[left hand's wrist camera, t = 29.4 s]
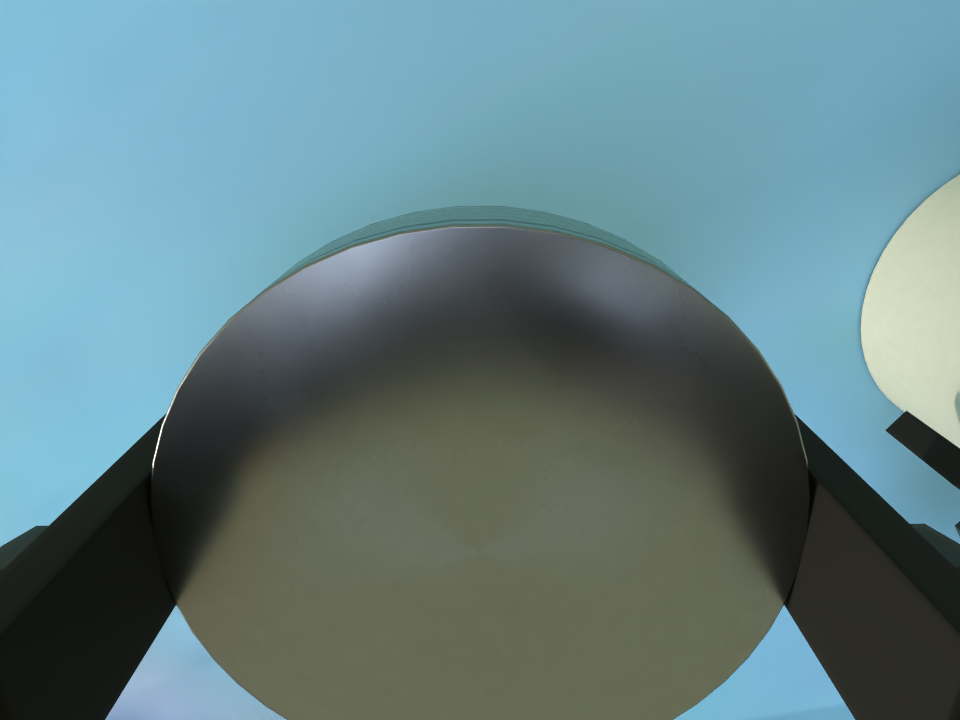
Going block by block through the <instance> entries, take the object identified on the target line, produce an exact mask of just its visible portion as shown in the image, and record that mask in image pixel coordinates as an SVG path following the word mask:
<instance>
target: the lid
mask: <svg viewBox="0 0 960 720" xmlns="http://www.w3.org/2000/svg"><path fill="white" fill-rule="evenodd" d="M150 506H151V517H152V529H153V534H154V538H155V542H156V547H157V551H158V555H159V559H160V563H161V567H162V571H163V575H164V577H165V580H166V582H167V584H168V587H169V589H170V592H171V594H172V597H173V599H174V601H175V603H176V605H177V607H178V609H179V610H180V612H181V614H182V615H183V617H184V619H185V620H186V622H187V624H188V626H189V627H190V629H191V631H192V632H193V634H194V635H195V636H196V638H197V639H198V640H199V641H200V643H201V644H202V645H203V647H204V648H205V649H206V650H207V652H208V653H209V654H210V656H211V657H212V658H213V659H214V660H215V661H216V662H217V663H218V664H219V665H220V666H221V667H222V668H223V669H224V670H225V671H226V673H227V674H228V675H229V676H230V677H231V678H232V679H233V680H234V681H235V682H236V683H237V684H239V685H240V686H241V687H242V688H244V689H245V690H246V691H247V692H249V693H250V694H251V695H252V696H254V697H255V698H256V699H257V700H259V701H260V702H261V703H262V704H264V705H265V706H266V707H268V708H270V709H271V710H273V711H274V712H276V713H277V714H279V715H281V716H282V717H284V718H285V719H287V720H673V719H675V718H676V717H678V716H680V715H681V714H683V713H684V712H686V711H687V710H689V709H691V708H692V707H694V706H695V705H697V704H698V703H699V702H700V701H702V700H703V699H704V698H705V697H707V696H708V695H709V694H710V693H712V692H713V691H714V690H715V689H717V688H718V687H719V686H720V685H721V684H723V683H724V682H725V681H726V680H727V679H728V678H729V677H730V676H731V675H732V674H733V673H734V672H735V671H736V670H737V669H738V668H739V667H740V666H741V665H742V664H743V663H744V662H745V661H746V659H747V658H748V657H749V656H750V655H751V653H752V652H753V651H754V649H755V648H756V647H757V646H758V644H759V643H760V642H761V640H762V639H763V638H764V636H765V635H766V634H767V632H768V631H769V630H770V628H771V626H772V625H773V623H774V621H775V619H776V618H777V616H778V614H779V612H780V611H781V609H782V607H783V605H784V604H785V602H786V600H787V598H788V595H789V593H790V590H791V588H792V585H793V583H794V580H795V578H796V575H797V572H798V569H799V565H800V561H801V556H802V552H803V548H804V544H805V540H806V535H807V531H808V521H809V508H810V487H809V476H808V464H807V457H806V453H805V449H804V445H803V441H802V437H801V433H800V429H799V426H798V422H797V419H796V417H795V415H794V413H793V410H792V408H791V406H790V403H789V401H788V399H787V397H786V394H785V392H784V390H783V387H782V385H781V384H780V382H779V381H778V379H777V377H776V376H775V374H774V373H773V371H772V370H771V368H770V367H769V365H768V364H767V362H766V360H765V359H764V357H763V356H762V354H761V353H760V351H759V350H758V349H757V348H756V346H755V345H754V344H753V343H752V342H751V341H750V340H749V339H748V338H747V336H746V335H745V334H744V333H743V332H742V331H741V330H740V329H739V328H738V326H737V325H736V324H735V323H734V322H733V321H732V320H731V319H730V318H729V317H728V316H727V315H726V314H725V313H723V312H722V311H721V310H720V309H719V308H717V307H716V306H715V305H714V304H712V303H711V302H710V301H709V300H708V299H706V298H705V297H704V296H703V295H701V294H700V293H699V292H698V291H697V290H695V289H694V288H693V287H692V286H690V285H689V284H688V283H687V282H686V281H684V280H683V279H682V278H681V277H679V276H678V275H677V274H676V273H675V272H673V271H672V270H671V269H670V268H668V267H667V266H666V265H665V264H664V263H662V262H661V261H660V260H658V259H656V258H655V257H653V256H651V255H650V254H648V253H646V252H645V251H643V250H641V249H640V248H638V247H636V246H635V245H633V244H631V243H630V242H628V241H626V240H625V239H622V238H620V237H618V236H615V235H613V234H611V233H608V232H606V231H604V230H601V229H599V228H596V227H594V226H592V225H589V224H587V223H584V222H580V221H576V220H573V219H569V218H565V217H562V216H558V215H554V214H551V213H547V212H542V211H534V210H527V209H519V208H511V207H504V206H455V207H448V208H441V209H434V210H427V211H419V212H413V213H409V214H406V215H402V216H398V217H395V218H391V219H388V220H384V221H381V222H377V223H374V224H370V225H368V226H366V227H364V228H361V229H359V230H357V231H354V232H352V233H350V234H348V235H345V236H343V237H341V238H338V239H336V240H334V241H332V242H330V243H329V244H327V245H325V246H324V247H322V248H320V249H319V250H317V251H316V252H314V253H312V254H311V255H309V256H307V257H306V258H304V259H303V260H301V261H299V262H298V263H296V264H295V265H294V266H293V267H292V268H290V269H289V270H288V271H287V272H285V273H284V274H283V275H282V276H281V277H279V278H278V279H277V280H276V281H274V282H273V283H272V284H271V285H270V286H268V287H267V288H266V289H265V290H263V291H262V292H261V293H260V294H259V295H257V296H256V297H255V298H254V299H253V300H252V301H250V302H249V303H248V304H247V305H246V306H244V307H243V308H242V309H241V310H240V311H238V312H237V313H236V314H235V315H234V316H232V317H231V318H230V319H229V320H228V321H227V322H226V323H225V324H224V326H223V327H222V328H221V329H220V330H219V331H218V332H217V333H216V335H215V336H214V337H213V338H212V339H211V340H210V341H209V343H208V344H207V345H206V346H205V347H204V348H203V349H202V351H201V352H200V353H199V355H198V356H197V358H196V359H195V361H194V362H193V364H192V366H191V367H190V369H189V370H188V372H187V373H186V375H185V377H184V378H183V380H182V381H181V383H180V385H179V386H178V388H177V390H176V392H175V395H174V397H173V399H172V402H171V404H170V406H169V409H168V411H167V414H166V416H165V418H164V421H163V423H162V426H161V430H160V434H159V438H158V442H157V447H156V451H155V455H154V459H153V466H152V479H151V492H150Z"/></svg>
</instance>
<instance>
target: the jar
mask: <svg viewBox="0 0 960 720" xmlns="http://www.w3.org/2000/svg"><path fill="white" fill-rule="evenodd" d="M861 343H862V348H863V352H864V357H865V361H866V363H867V366H868V368H869V371H870V374H871V376H872V377H873V379H874V381H875V382H876V384H877V386H878V387H879V389H880V390H881V391H882V392H883V393H884V394H885V396H886V397H887V398H888V399H889V400H890V401H891V402H892V403H894V404H895V405H896V406H897V407H898V408H900V409H901V410H902V411H904V412H906V411H908V412H909V413H911V414H912V415H914V416H915V417H916V418H918V419H919V420H921V421H922V422H924V423H925V424H926V425H928V426H929V427H931V428H932V429H933V430H935V431H936V432H938V433H939V434H940V435H942V436H943V437H945V438H946V439H947V440H949V441H950V442H952V443H953V444H954V445H956V446H957V447H959V448H960V174H959V175H958V176H956V177H955V178H953V179H952V180H950V181H949V182H947V183H946V184H944V185H943V186H942V187H941V188H939V189H938V190H937V191H936V192H934V193H933V194H932V195H931V196H929V197H928V198H927V199H926V200H925V201H924V202H923V203H922V204H921V205H920V206H919V207H918V208H917V209H916V210H915V211H914V212H913V213H912V214H911V215H910V216H909V217H908V218H907V219H906V221H905V222H904V223H903V224H902V226H901V227H900V228H899V229H898V230H897V232H896V233H895V234H894V236H893V237H892V239H891V240H890V242H889V243H888V245H887V247H886V248H885V250H884V251H883V253H882V255H881V257H880V259H879V261H878V263H877V265H876V267H875V269H874V271H873V273H872V276H871V279H870V281H869V284H868V287H867V290H866V294H865V298H864V303H863V307H862V316H861Z"/></svg>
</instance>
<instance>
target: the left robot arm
mask: <svg viewBox="0 0 960 720" xmlns="http://www.w3.org/2000/svg"><path fill="white" fill-rule="evenodd" d="M166 414H167V413H166ZM166 414H165V415H164V416H163V417H162V418H161V419H160V420H159V421H158V422H157V423H156V424H155V425H154V426H153V427H152V428H151V429H150V430H149V431H148V432H147V433H145V434H144V435H143V436H142V437H141V438H140V439H139V440H138V441H137V442H136V443H135V444H134V445H133V446H132V447H131V448H130V449H129V450H128V451H127V452H126V453H125V454H124V455H123V456H121V457H120V458H119V459H118V460H117V461H116V462H115V463H114V464H113V465H112V466H111V467H110V468H109V469H108V470H107V471H106V472H105V473H104V474H103V475H102V476H101V477H100V478H98V479H97V480H96V481H95V482H94V483H93V484H92V485H91V486H90V487H89V488H88V489H87V490H86V491H85V492H84V493H83V494H82V495H81V496H80V497H79V498H78V499H77V500H75V501H74V502H73V503H72V504H71V505H70V506H69V507H68V508H67V509H66V510H65V511H64V512H63V513H62V514H61V515H60V516H59V517H58V518H57V519H56V520H55V521H54V522H52V523H51V524H50V525H49V526H35V527H34V528H32V529H30V530H29V531H27V532H25V533H23V534H22V535H20V536H18V537H17V538H15V539H13V540H11V541H10V542H8V543H6V544H5V545H3V546H1V547H0V720H105V719H106V717H107V715H108V714H109V712H110V711H111V709H112V707H113V706H114V704H115V703H116V701H117V699H118V698H119V696H120V694H121V693H122V691H123V690H124V688H125V686H126V685H127V683H128V682H129V680H130V678H131V677H132V675H133V673H134V672H135V670H136V669H137V667H138V665H139V664H140V662H141V661H142V659H143V657H144V656H145V654H146V652H147V651H148V649H149V648H150V646H151V644H152V643H153V641H154V639H155V638H156V636H157V635H158V633H159V631H160V630H161V628H162V627H163V625H164V623H165V622H166V620H167V618H168V617H169V615H170V614H171V612H172V610H173V609H174V607H175V606H176V603H175V601H174V599H173V597H172V594H171V592H170V589H169V587H168V584H167V582H166V580H165V577H164V575H163V571H162V567H161V563H160V559H159V555H158V551H157V547H156V542H155V538H154V534H153V529H152V517H151V506H150V492H151V479H152V466H153V459H154V455H155V451H156V447H157V442H158V438H159V434H160V430H161V426H162V423H163V421H164V418H165V416H166ZM794 415H795V414H794ZM795 417H796V419H797V422H798V426H799V429H800V433H801V437H802V441H803V445H804V449H805V453H806V457H807V464H808V476H809V487H810V508H809V521H808V531H807V535H806V540H805V544H804V548H803V552H802V556H801V561H800V565H799V569H798V572H797V575H796V578H795V580H794V583H793V585H792V588H791V590H790V593H789V595H788V598H787V600H786V602H785V604H784V605H785V607H786V608H787V610H788V611H789V613H790V615H791V616H792V618H793V619H794V621H795V623H796V624H797V626H798V628H799V629H800V631H801V632H802V634H803V636H804V637H805V639H806V640H807V642H808V644H809V645H810V647H811V649H812V650H813V652H814V653H815V655H816V657H817V658H818V660H819V661H820V663H821V665H822V666H823V668H824V670H825V671H826V673H827V674H828V676H829V678H830V679H831V681H832V682H833V684H834V686H835V687H836V689H837V691H838V692H839V694H840V695H841V697H842V699H843V700H844V702H845V704H846V705H847V707H848V708H849V710H850V712H851V713H852V715H853V716H854V718H855V720H960V544H959V543H957V542H955V541H953V540H952V539H950V538H948V537H946V536H945V535H943V534H941V533H939V532H938V531H936V530H934V529H933V528H931V527H929V526H927V525H926V524H909V523H908V522H907V521H906V520H905V519H904V518H903V517H902V516H901V515H900V514H899V513H898V512H896V511H895V510H894V509H893V508H892V507H891V506H890V505H889V504H888V503H887V502H886V501H885V500H884V499H883V498H882V497H881V496H880V495H879V494H878V493H877V492H876V491H875V490H873V489H872V488H871V487H870V486H869V485H868V484H867V483H866V482H865V481H864V480H863V479H862V478H861V477H860V476H859V475H858V474H857V473H856V472H855V471H854V470H853V469H852V468H850V467H849V466H848V465H847V464H846V463H845V462H844V461H843V460H842V459H841V458H840V457H839V456H838V455H837V454H836V453H835V452H834V451H833V450H832V449H831V448H830V447H829V446H827V445H826V444H825V443H824V442H823V441H822V440H821V439H820V438H819V437H818V436H817V435H816V434H815V433H814V432H813V431H812V430H811V429H810V428H809V427H808V426H807V425H806V424H804V423H803V422H802V421H801V420H800V419H799V418H798V417H797V416H796V415H795Z"/></svg>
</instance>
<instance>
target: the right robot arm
mask: <svg viewBox="0 0 960 720" xmlns="http://www.w3.org/2000/svg"><path fill="white" fill-rule="evenodd" d="M886 431H887V432H888V433H889V434H891V435H892V436H893V437H894V438H896V439H897V440H898V441H899V442H900V443H902V444H903V445H904V446H905V447H907V448H908V449H909V450H910V451H912V452H913V453H914V454H915V455H917V456H918V457H919V458H920V459H922V460H923V461H924V462H925V463H927V464H928V465H929V466H930V467H932V468H933V469H934V470H935V471H937V472H938V473H939V474H940V475H942V476H943V477H944V478H945V479H947V480H948V481H949V482H950V483H952V484H953V485H954V486H956V487H957V488H958V489H960V448H959V447H957V446H956V445H954V444H953V443H952V442H950V441H949V440H947V439H946V438H945V437H943V436H942V435H940V434H939V433H938V432H936V431H935V430H933V429H932V428H931V427H929V426H928V425H926V424H925V423H924V422H922V421H921V420H919V419H918V418H916V417H915V416H914V415H912V414H911V413H909V412H908V411H906V412H904V413H903V414H902V415H901V416H900V417H899V418H898V419H897V420H896V421H895V422H894V423H893V424H892V425H891V426H890V427H889V428H887V429H886ZM955 527H956V529H957V531H958V534H959V536H960V522H958V523H957V524H956V525H955Z"/></svg>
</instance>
